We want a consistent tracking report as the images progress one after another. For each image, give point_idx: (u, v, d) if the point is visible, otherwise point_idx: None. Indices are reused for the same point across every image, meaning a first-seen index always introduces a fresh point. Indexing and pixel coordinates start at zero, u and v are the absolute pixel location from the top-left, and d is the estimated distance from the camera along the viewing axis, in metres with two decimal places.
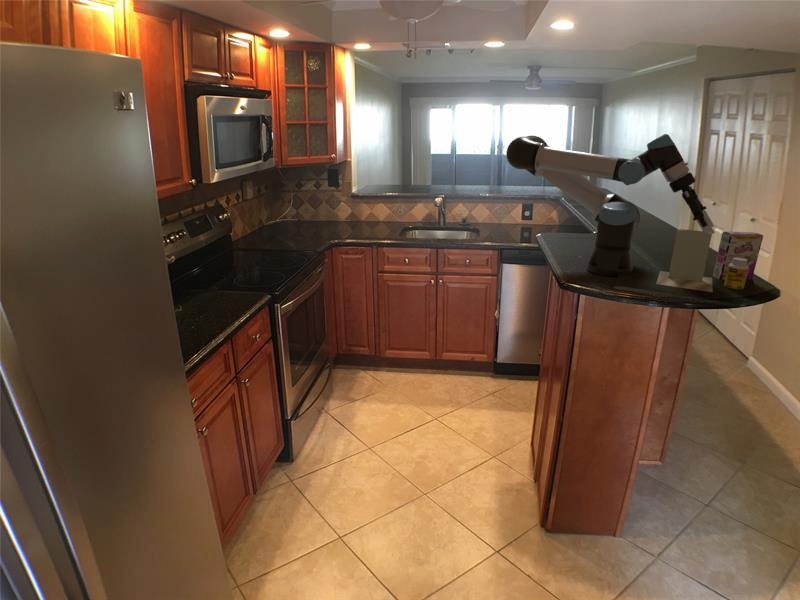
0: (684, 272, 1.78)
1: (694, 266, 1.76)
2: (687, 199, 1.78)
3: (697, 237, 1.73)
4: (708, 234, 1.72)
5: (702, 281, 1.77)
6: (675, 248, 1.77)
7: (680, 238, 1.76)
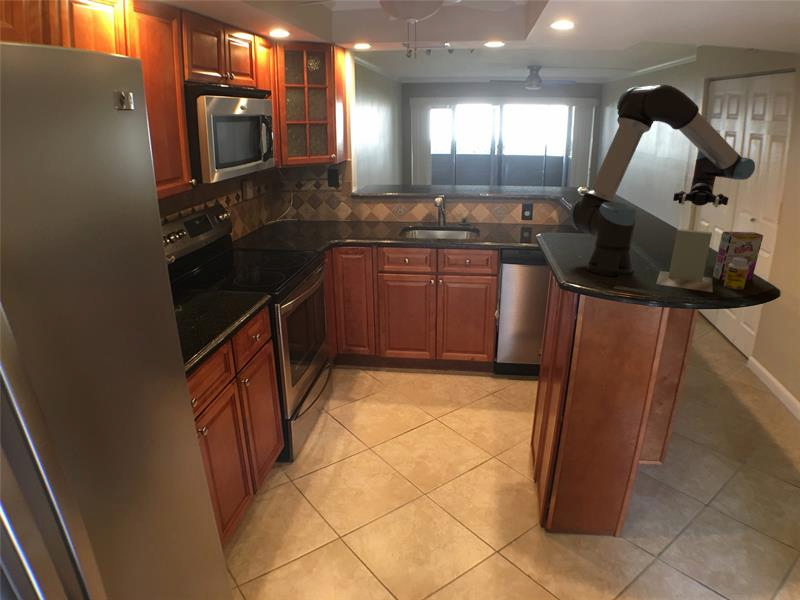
0: (684, 272, 1.78)
1: (694, 266, 1.76)
2: None
3: (697, 237, 1.73)
4: (708, 234, 1.72)
5: (702, 281, 1.77)
6: (675, 248, 1.77)
7: (680, 238, 1.76)
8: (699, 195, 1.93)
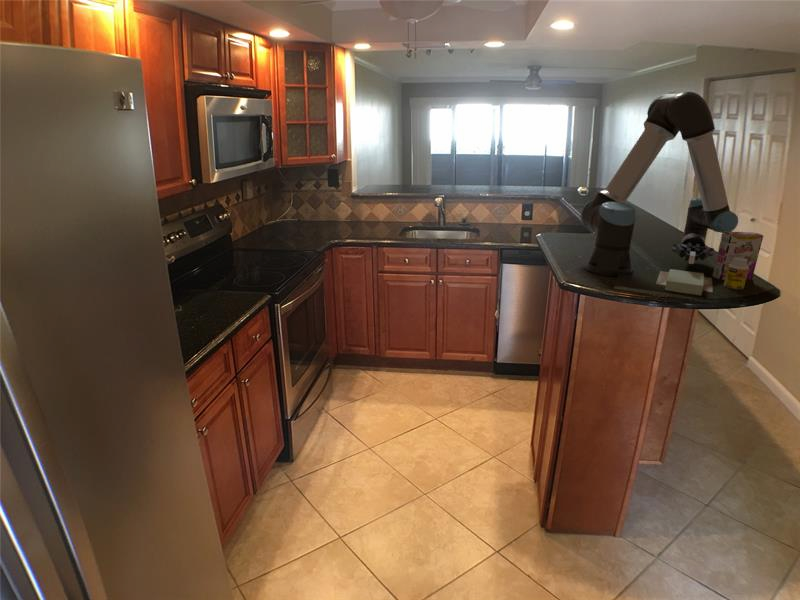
0: None
1: None
2: (710, 251, 1.83)
3: None
4: (697, 294, 1.63)
5: None
6: None
7: None
8: (691, 248, 1.86)
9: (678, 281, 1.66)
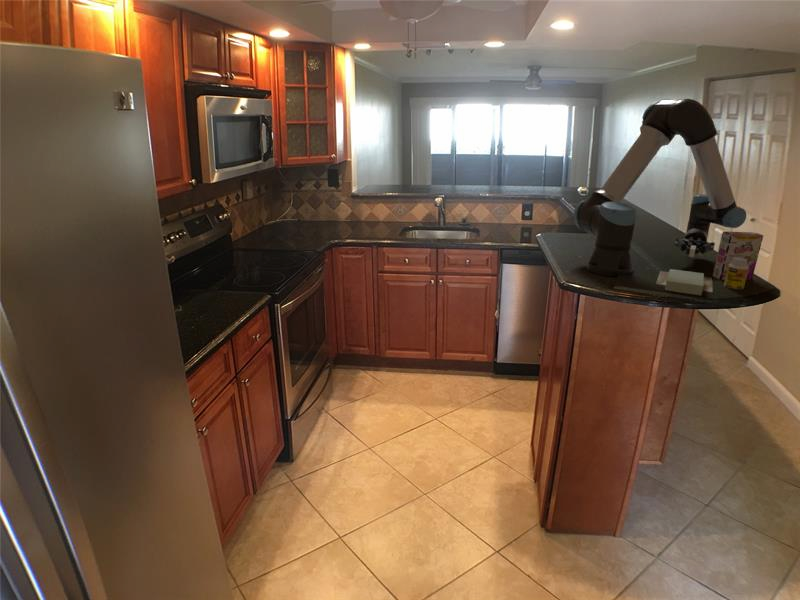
0: None
1: None
2: (710, 245, 1.90)
3: None
4: (697, 294, 1.63)
5: None
6: None
7: None
8: (693, 243, 1.93)
9: (678, 281, 1.66)
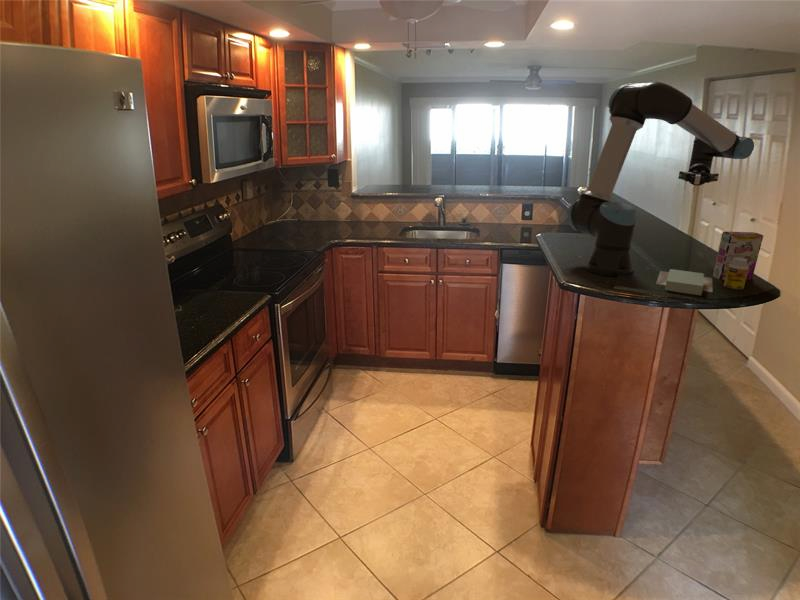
0: None
1: None
2: (715, 175, 1.90)
3: None
4: (697, 294, 1.63)
5: None
6: None
7: None
8: (697, 174, 1.93)
9: (678, 281, 1.66)
